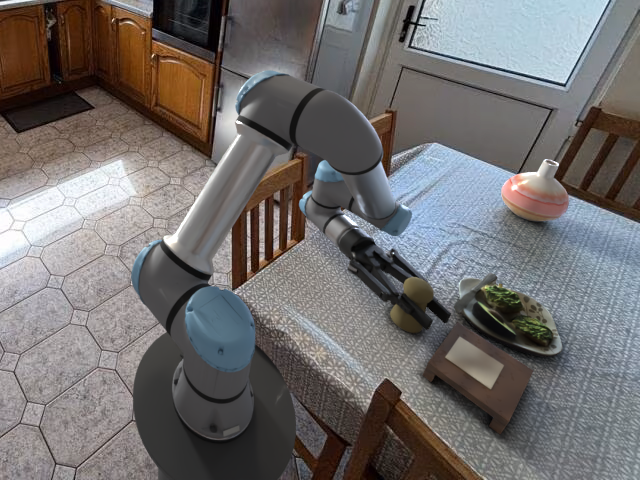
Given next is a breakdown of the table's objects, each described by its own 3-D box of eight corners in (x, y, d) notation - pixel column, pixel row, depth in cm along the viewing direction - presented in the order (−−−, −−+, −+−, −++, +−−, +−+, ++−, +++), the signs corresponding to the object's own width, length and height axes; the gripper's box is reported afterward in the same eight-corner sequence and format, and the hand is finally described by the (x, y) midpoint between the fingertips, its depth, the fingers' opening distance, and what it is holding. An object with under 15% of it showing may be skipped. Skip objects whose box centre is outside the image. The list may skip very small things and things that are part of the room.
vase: (570, 235, 110) (601, 182, 103) (508, 224, 114) (534, 172, 107) (541, 203, 122) (567, 153, 114) (486, 194, 126) (508, 145, 118)
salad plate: (448, 264, 102) (454, 250, 100) (544, 297, 93) (553, 283, 91) (451, 325, 88) (458, 310, 86) (566, 372, 79) (576, 356, 77)
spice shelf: (421, 375, 79) (428, 361, 77) (451, 334, 86) (457, 321, 84) (500, 434, 70) (509, 421, 68) (525, 383, 77) (534, 369, 75)
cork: (394, 328, 87) (408, 292, 82) (387, 304, 92) (400, 269, 88) (426, 336, 86) (443, 300, 81) (417, 311, 91) (432, 275, 86)
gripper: (374, 242, 106) (464, 322, 85) (318, 257, 101) (399, 346, 81) (381, 219, 102) (477, 297, 82) (324, 234, 98) (410, 321, 78)
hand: (438, 321), depth 82 cm, fingers closed on cork, 4 cm apart
